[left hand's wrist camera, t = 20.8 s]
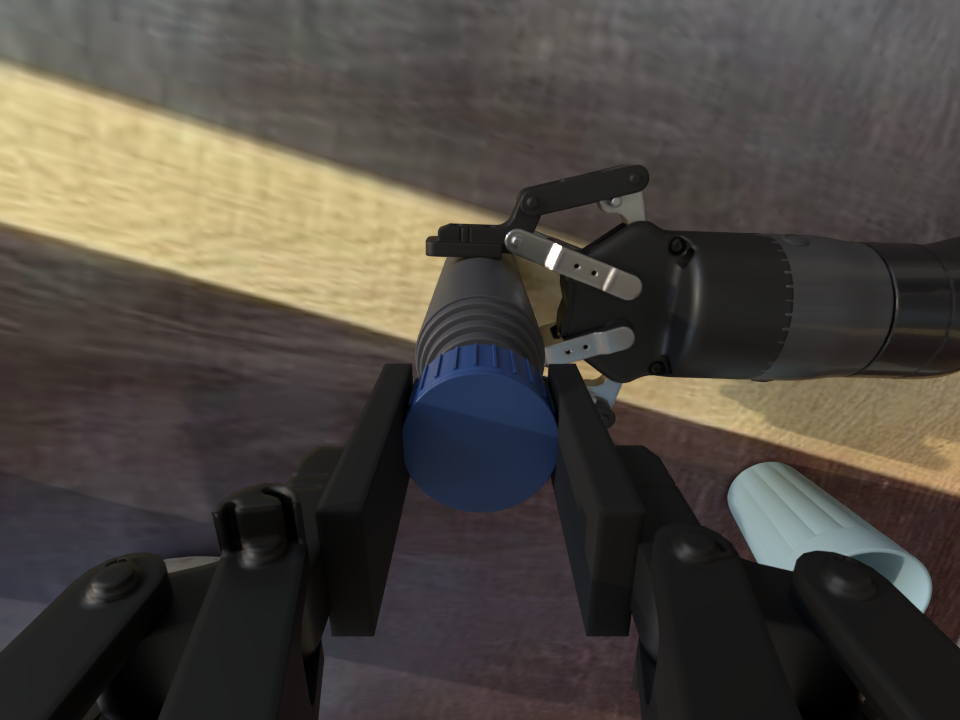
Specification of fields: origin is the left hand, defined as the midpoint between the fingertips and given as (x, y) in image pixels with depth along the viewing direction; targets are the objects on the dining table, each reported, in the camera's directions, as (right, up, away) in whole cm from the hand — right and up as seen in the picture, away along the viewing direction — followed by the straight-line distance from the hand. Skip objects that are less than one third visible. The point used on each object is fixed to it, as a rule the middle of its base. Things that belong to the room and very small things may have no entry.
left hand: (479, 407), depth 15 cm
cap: (0, -1, -2) cm, 2 cm away
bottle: (0, +7, +18) cm, 19 cm away
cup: (+21, -8, +24) cm, 33 cm away
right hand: (-3, +5, +12) cm, 13 cm away
